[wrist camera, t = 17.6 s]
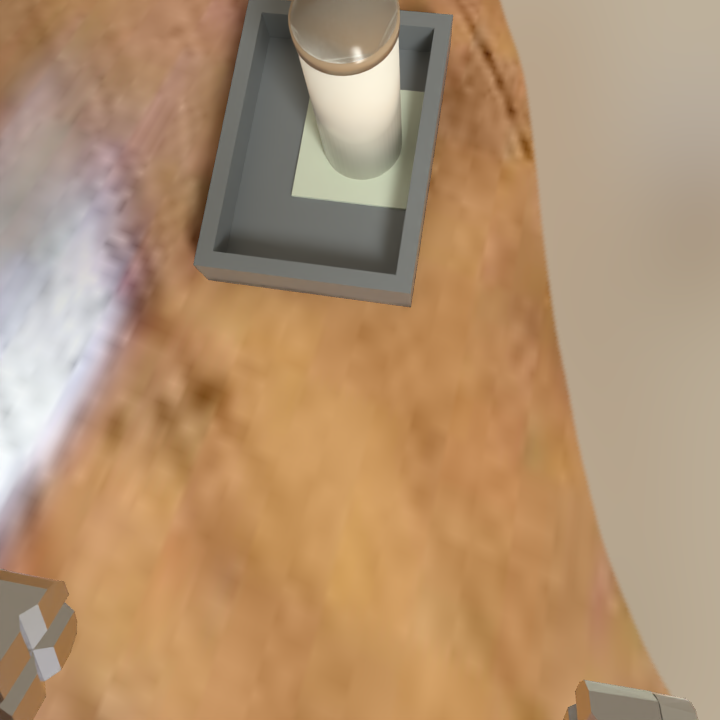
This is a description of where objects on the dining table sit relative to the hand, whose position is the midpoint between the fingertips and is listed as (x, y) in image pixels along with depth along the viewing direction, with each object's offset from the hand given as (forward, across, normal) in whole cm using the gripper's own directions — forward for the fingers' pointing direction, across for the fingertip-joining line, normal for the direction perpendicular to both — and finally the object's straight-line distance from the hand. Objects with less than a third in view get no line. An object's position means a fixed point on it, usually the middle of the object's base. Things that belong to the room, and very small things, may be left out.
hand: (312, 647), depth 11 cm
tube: (+37, +5, +4) cm, 37 cm away
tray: (+37, +7, +5) cm, 38 cm away
